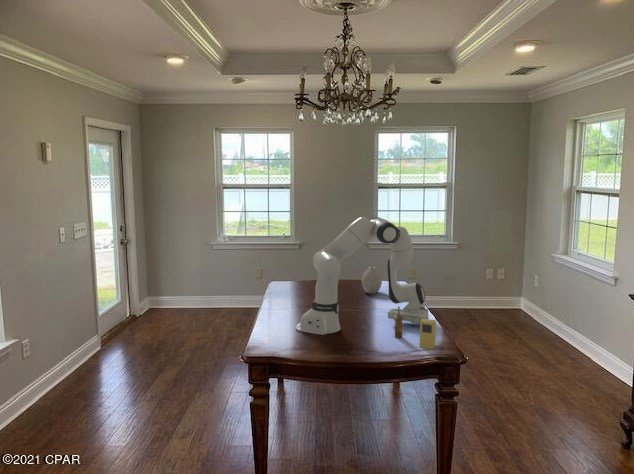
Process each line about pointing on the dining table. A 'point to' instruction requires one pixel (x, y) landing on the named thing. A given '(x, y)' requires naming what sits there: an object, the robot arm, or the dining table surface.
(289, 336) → the dining table surface
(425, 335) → the block
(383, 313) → the dining table surface
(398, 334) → the awl
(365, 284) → the vase
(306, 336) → the dining table surface
